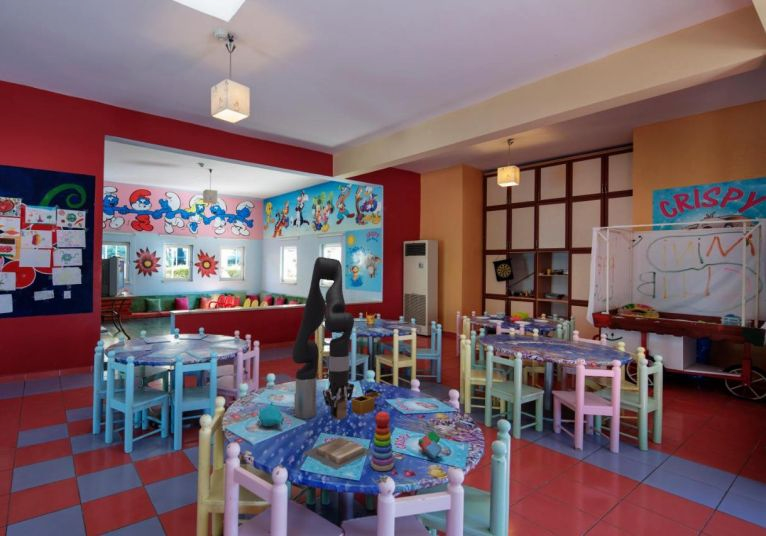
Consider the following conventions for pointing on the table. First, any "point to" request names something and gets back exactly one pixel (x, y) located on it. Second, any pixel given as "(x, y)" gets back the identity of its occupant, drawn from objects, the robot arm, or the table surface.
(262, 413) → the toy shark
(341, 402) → the block
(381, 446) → the stacking toy
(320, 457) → the mat
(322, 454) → the tile
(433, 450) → the building blocks
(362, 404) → the spider toy trap
